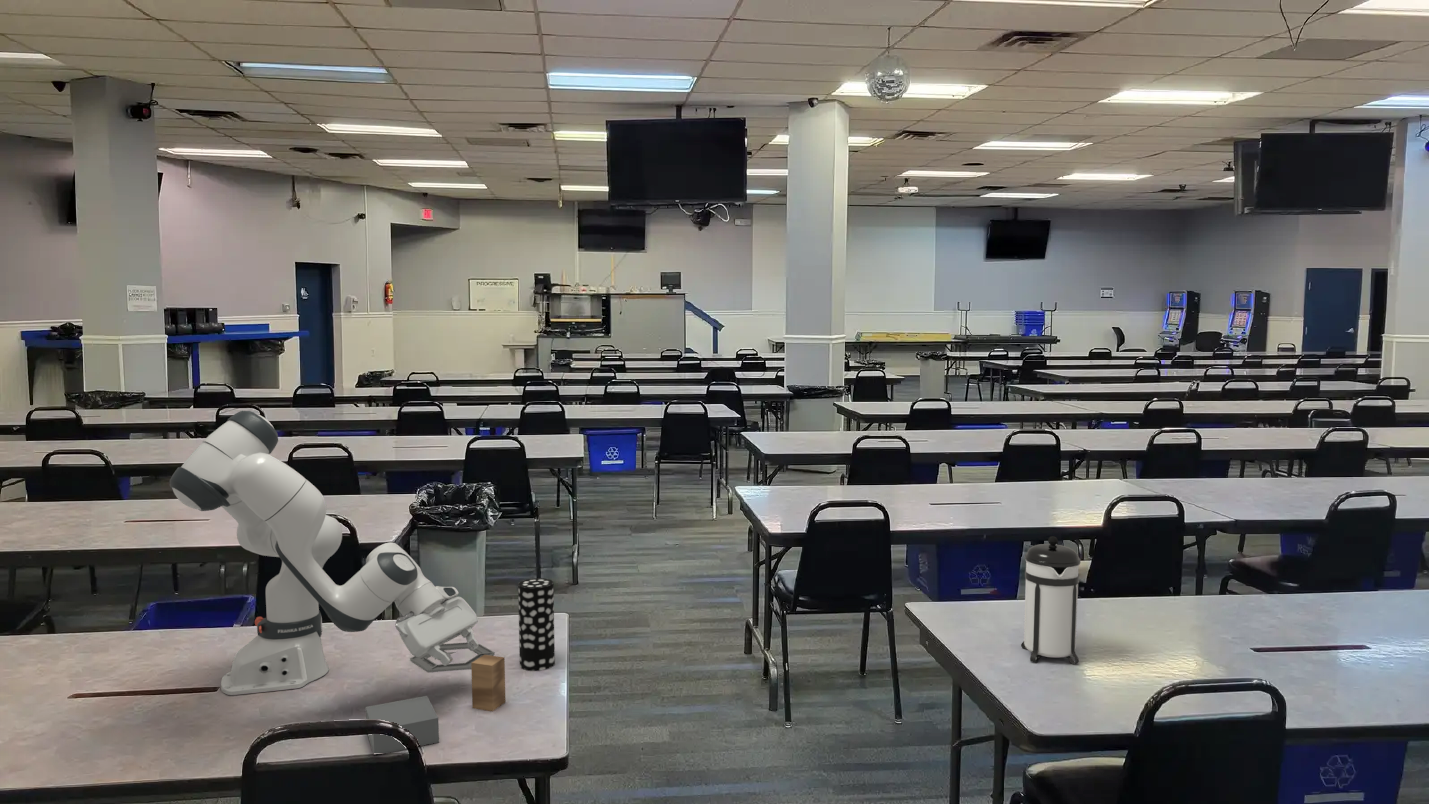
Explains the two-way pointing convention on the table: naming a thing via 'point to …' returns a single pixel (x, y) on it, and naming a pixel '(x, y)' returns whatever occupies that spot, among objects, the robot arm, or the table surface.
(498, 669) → the oak block
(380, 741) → the block
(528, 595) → the spotted tube
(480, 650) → the grey hexagonal ring
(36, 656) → the table surface
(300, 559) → the robot arm
